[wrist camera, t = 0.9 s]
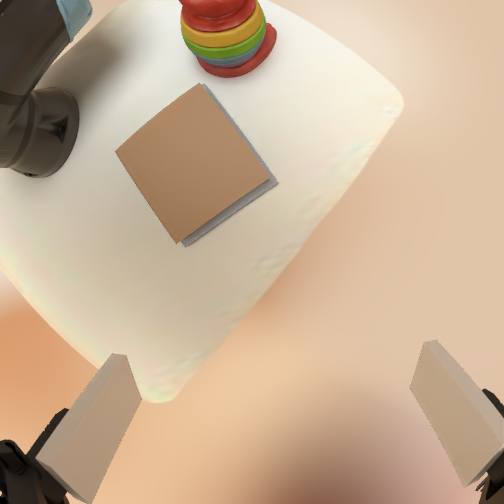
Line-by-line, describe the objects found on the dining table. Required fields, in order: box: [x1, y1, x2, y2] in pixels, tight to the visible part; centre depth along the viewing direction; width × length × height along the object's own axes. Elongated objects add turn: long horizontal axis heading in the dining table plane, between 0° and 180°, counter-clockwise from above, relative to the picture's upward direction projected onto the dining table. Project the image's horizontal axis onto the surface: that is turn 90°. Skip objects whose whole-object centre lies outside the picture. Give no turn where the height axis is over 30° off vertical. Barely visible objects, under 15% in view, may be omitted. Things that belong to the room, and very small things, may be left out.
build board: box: [115, 83, 278, 248], centre depth 31 cm, size 16×14×4 cm
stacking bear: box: [179, 0, 276, 77], centre depth 20 cm, size 11×10×18 cm
